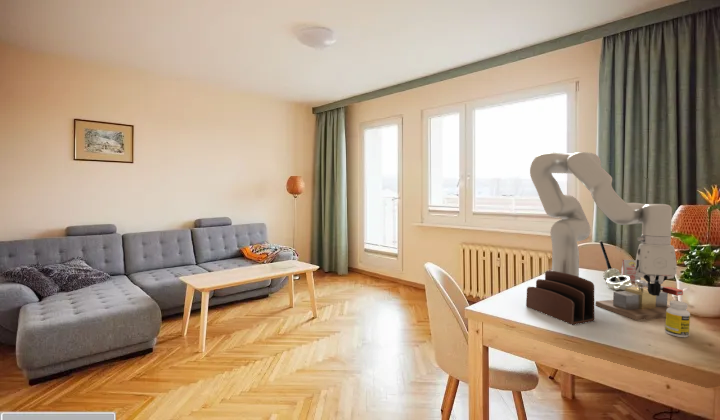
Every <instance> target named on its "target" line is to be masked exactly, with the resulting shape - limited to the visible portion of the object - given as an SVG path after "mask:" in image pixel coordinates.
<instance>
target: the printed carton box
mask: <svg viewBox="0 0 720 420" xmlns="http://www.w3.org/2000/svg"><path fill="white" fill-rule="evenodd" d="M635 265H636V259H635V260H634V259H622V262H621V273H620V274H621V276H628V277H629V278H630V280H631V283H635V280H642V278H641V277H638V276H636V267H635Z"/></svg>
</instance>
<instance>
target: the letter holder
mask: <svg viewBox="0 0 720 420" xmlns="http://www.w3.org/2000/svg"><path fill="white" fill-rule="evenodd" d="M544 278H545V279H539V278H538V279H536V281H535V286H528V287H527V288H526V298H525V299H526V301H525V307H526V306H527V307H526V308H529V309H531V308H532V309H531V310H534V311H536V310H537V312H539V313H541V312H542V313H541V314H544V315H546V314H547V316H549V317H551V316H552V317H551V318H553V319H556V318H557V320H559V321H561V320H562V322H564V323H566V322H567V323H566V324H570V325H571V324H572V326H576V325H581V324H580V323H582V324H585V322H587V323H592V322H591V321H593V322H595V284H594V282H592V281H590V280H588V279H586V278H584V277H580V276H579V277H578V276H574V275H571V274H567V273H562V272H556V271H552V270H545V274H544ZM575 324H576V325H575Z"/></svg>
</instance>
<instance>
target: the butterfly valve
mask: <svg viewBox="0 0 720 420" xmlns="http://www.w3.org/2000/svg"><path fill="white" fill-rule="evenodd" d="M598 243H599V245H600V248H601V252H602V255H603V256H604V260H605V263H606V267H607V268H606V270H605V271H604V272H603V274H602V276H603V280H605V282H606V285H607V287H608V288H609V289H612V290H617V291H619V290H621V291H625V289H626V288H628V287H633V282H631V280H630V278H629V277H628V276H621V273H620V270H619V269H618V268H616V267H612V266H611V263H610V261H609V257H608V255H607V251H606V248H605V245H604V242H603V241H602V240H599V241H598Z"/></svg>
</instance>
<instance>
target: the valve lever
mask: <svg viewBox="0 0 720 420" xmlns="http://www.w3.org/2000/svg"><path fill="white" fill-rule="evenodd" d="M634 284H635V286H636V285H637V286H638V285H640V286H644V287H647V288H648V282H647V281H646V280H645V279H644V280H643V279H641V280H635V282H634ZM661 291H662V292H665V293H668V294H669V295H674V296H676V297H677V296H683V294H684V289H680V288H676V287H672V286H663V285H661Z"/></svg>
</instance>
